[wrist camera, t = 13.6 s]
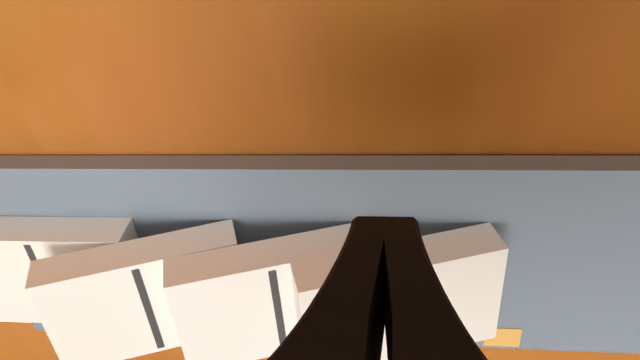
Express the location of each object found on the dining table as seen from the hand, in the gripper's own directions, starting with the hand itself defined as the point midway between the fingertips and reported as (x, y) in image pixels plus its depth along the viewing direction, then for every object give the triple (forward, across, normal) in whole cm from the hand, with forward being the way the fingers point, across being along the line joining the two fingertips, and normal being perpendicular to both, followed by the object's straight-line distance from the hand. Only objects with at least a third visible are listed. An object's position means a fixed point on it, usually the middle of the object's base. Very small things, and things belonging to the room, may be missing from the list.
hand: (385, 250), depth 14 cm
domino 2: (+8, +1, +9) cm, 12 cm away
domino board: (+10, +3, +9) cm, 14 cm away
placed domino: (+8, -4, +9) cm, 13 cm away
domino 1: (+8, +6, +9) cm, 14 cm away
